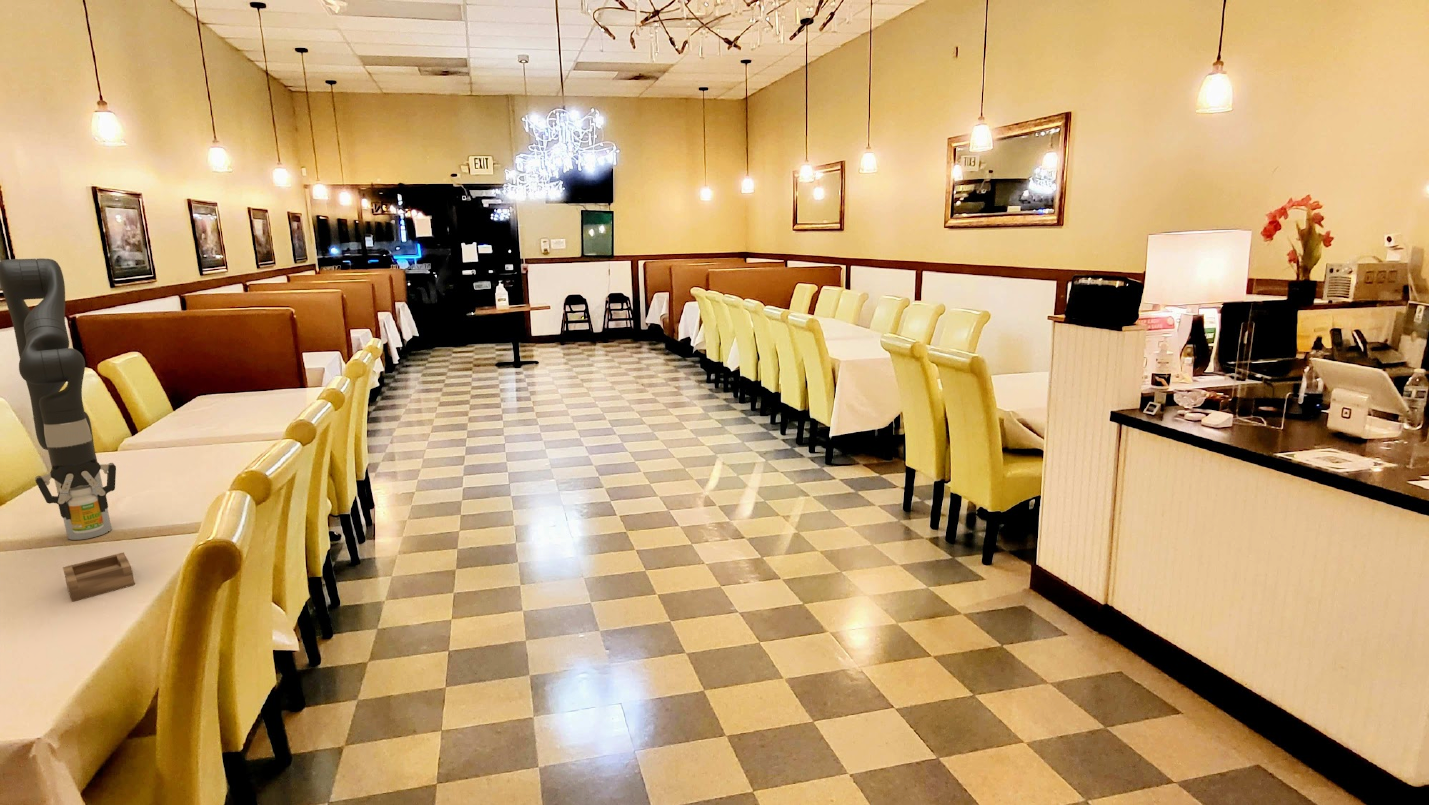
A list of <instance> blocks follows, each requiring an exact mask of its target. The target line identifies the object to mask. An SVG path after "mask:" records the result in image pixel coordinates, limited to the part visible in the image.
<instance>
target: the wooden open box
mask: <svg viewBox="0 0 1429 805" xmlns="http://www.w3.org/2000/svg"><path fill="white" fill-rule="evenodd" d="M62 569H63V574H64V578H65V583H66V586H67V590H68V593H69V597H70V600H71V602H75V601H80V600H83V599H86V598H90V597H94V596H98V595H101V594H105V592H106V593H109V592H112V590H113V591H116V590H115V589H117V590H120V588H121V589H124V588H127V587H126V586H128V587H130V586H131V585H132V586H134V585H133V584H136V583H135V579H134V574H133V569H132V565H131V563H130V562H129V560H128V558H127V556H126V554H125V552H123V551H122V552H120V553H115V554H112V555H108V556H107V555H106V556H103V557H100V558H96V559H91V560H87V561H83V562H79V563H75V564H71V565H68V566H67V565H66V566H62ZM132 586H131V587H132ZM123 587H124V588H123ZM108 591H109V592H108Z"/></svg>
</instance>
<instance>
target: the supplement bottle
mask: <svg viewBox="0 0 1429 805" xmlns="http://www.w3.org/2000/svg"><path fill="white" fill-rule="evenodd" d="M92 492H93V491H92V486H91V485H85V486H77V487H75V488H70V489H69V496H71V498H70V499H69V500H68V501H67V505H68V510H69V514H70V520H71V525H72V529H73V532H74V533H88V532H93V531H96V530H98V529H101V528H102V527H103V526H104V523H103V518H102V513H101V509H100V504H99V499H98V496H97V495H95V494H92Z"/></svg>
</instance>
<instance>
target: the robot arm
mask: <svg viewBox="0 0 1429 805" xmlns="http://www.w3.org/2000/svg"><path fill="white" fill-rule="evenodd" d="M65 286H66V285H65V279H64V274H63V270H62V268H61V266H60V265H59V263H58V261H56V260H55V259H52V258H10V259H3V260H0V287H1V290H2V294H3V296H4V299H5V303H6V306H7V309H8V312H9V315H10V319H11V321H12V326H13V330H14V335H15V339H16V340H15V341H16V347H17V350H18V357H19V363H18V371H19V374H20V376H21V378H22V379H23V380H24V381H25V383H26V386H27V390H28V394H29V397H30V403H31V410H32V416H33V422H34V423H33V424H34V429H35V435H36V438H37V441H38V444H39V445H40V447H41V448H42V449H43V450H45V451H47V453H48V457H49V461H50V462H49V463H50V466H51V470H50V472H49V473H47V474H44V475H37V476H36V477H34V480H35V483H36V485H37V486H38V489H39V490H40V493H41V494H42V496H43V498H44V500H45V502H46V503H47V504H48V505H49V504H50V505H51V504H56V505H58V509H59V513H60V517H61V518H62V519H63V523H64V528H65V532H66V536H67V539H68V540H73V541H80V540H87V539H92V538H95V537H99V536H103V535H106V534H108V533H109V532H111V530H112V529H113V528H112V523H111V518H110V513H109V509H108V508H109V503H108V499H107V495H108V493H110V492H113V491H115V489H116V477H117V475H116V474H117V466H116V465H115V463H113V462H110V463H106V464H105V463H102V464H100V463H99V462H98V459H97V456H96V450H95V445H94V444H95V442H94V436H93V429H92V423H91V419H90V417H89V415H88V413H87V412H86V411H85V408H84V403H83V395H82V394H83V381H84V376H85V370H86V361H85V358H84V356H83V354H82V353H81V352H80V351H79V350H78V349H75V348H70V340H69V339H70V338H69V334H68V330H67V325H66V318H65V317H66V314H65V313H66V287H65ZM41 299H42V300H41ZM25 300H41V301H40V302H39V303H37V304H36V305H35V307H33V308H32V309H30V307H29V306H28V305H27V303H26V302H25ZM66 383H67V384H66ZM65 384H66V386H65ZM64 386H65V387H64ZM63 387H64V388H63ZM100 471H103V472H104V473H103V474H105V475H106V485H105V486H104V485H103V481H102V476H101V472H100ZM52 479H53V480H54V484H55V487H56V493H57V495H52V493H51V491H50V489H49V488H48V486H49V485H50V483H51V482H50V481H51V480H52ZM85 485H91V486H92V491H93V492H92V494H95V495H97V496H98V499H99V504H100V509H101V513H102V518H103V523H104V526H103V527H102V528H101V529H98V530H96V531H93V532H88V533H74V532H73V529H72V525H71V520H70V514H69V510H68V505H67V501H68V500H69V499H70V498H71V496H69V489H70V488H75V487H77V486H85ZM111 528H112V529H111ZM110 529H111V530H110ZM108 531H109V532H108Z"/></svg>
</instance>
